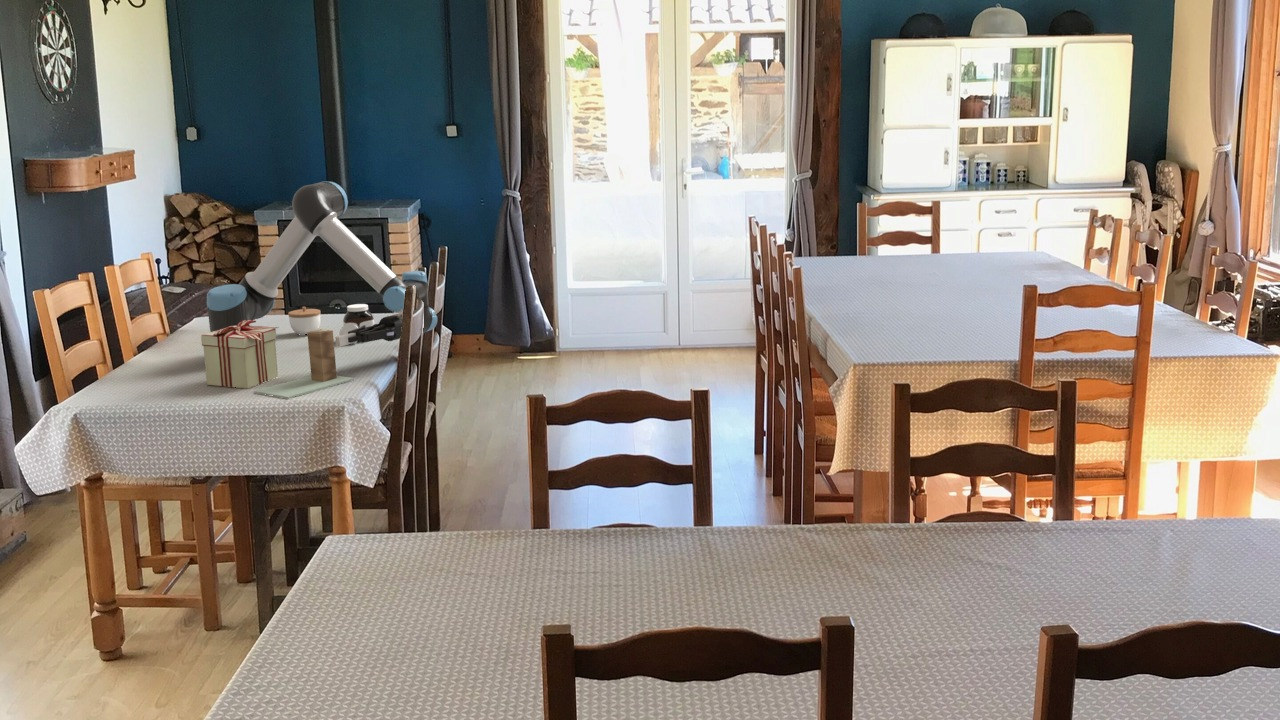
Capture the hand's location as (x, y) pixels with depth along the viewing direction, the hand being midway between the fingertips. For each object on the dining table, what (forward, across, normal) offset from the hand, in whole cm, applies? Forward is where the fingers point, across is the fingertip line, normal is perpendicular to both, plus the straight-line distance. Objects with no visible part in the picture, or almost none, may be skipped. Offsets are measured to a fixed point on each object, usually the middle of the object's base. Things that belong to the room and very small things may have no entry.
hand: (337, 341), depth 355 cm
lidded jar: (-40, +60, -11) cm, 72 cm away
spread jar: (-39, +33, -11) cm, 52 cm away
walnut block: (+6, 0, -10) cm, 12 cm away
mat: (+13, 0, -10) cm, 17 cm away
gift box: (+16, +21, -11) cm, 28 cm away
